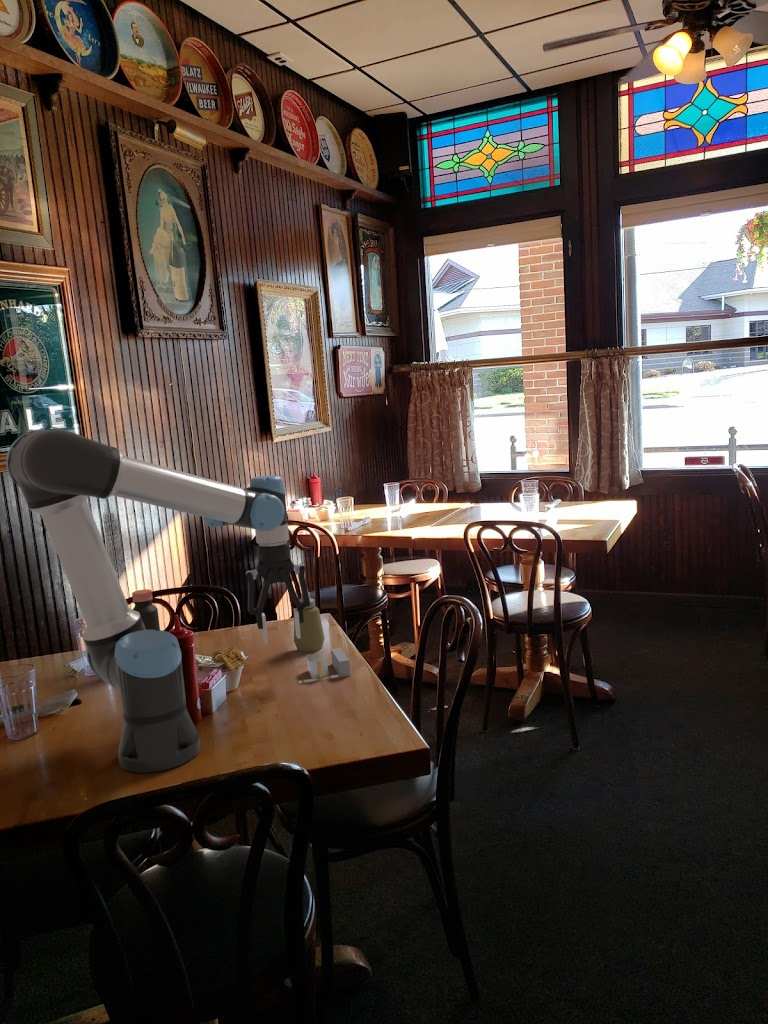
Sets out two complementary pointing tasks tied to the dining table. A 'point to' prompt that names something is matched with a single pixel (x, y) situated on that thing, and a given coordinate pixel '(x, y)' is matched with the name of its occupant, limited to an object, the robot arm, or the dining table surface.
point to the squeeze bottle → (310, 629)
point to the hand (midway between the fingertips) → (282, 639)
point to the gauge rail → (336, 665)
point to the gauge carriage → (317, 665)
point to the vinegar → (146, 609)
